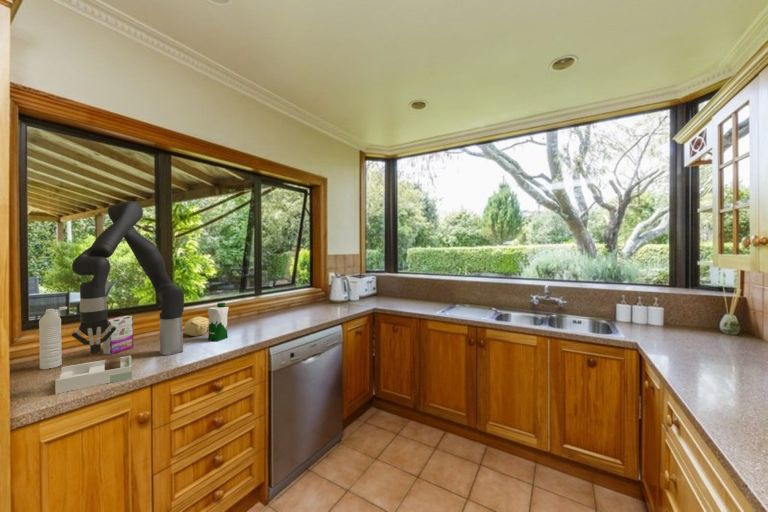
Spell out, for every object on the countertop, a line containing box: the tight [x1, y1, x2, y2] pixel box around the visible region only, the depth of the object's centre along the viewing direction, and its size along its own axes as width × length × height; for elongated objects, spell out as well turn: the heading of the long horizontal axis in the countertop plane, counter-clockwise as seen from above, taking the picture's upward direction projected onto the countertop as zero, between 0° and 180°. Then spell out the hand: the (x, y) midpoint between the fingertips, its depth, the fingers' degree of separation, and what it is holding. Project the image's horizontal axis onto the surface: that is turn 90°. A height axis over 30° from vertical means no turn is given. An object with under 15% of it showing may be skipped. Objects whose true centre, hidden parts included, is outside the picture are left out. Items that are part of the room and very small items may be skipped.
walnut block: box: [104, 357, 120, 371], centre depth 123 cm, size 4×4×4 cm
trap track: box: [54, 355, 133, 395], centre depth 122 cm, size 21×15×5 cm
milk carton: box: [206, 302, 230, 342], centre depth 176 cm, size 9×9×20 cm
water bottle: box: [38, 306, 68, 370], centre depth 134 cm, size 9×6×25 cm
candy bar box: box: [102, 315, 134, 356], centre depth 154 cm, size 11×5×16 cm, turn 168°
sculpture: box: [183, 315, 209, 337], centre depth 183 cm, size 11×12×11 cm
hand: (95, 353), depth 119 cm, fingers closed
